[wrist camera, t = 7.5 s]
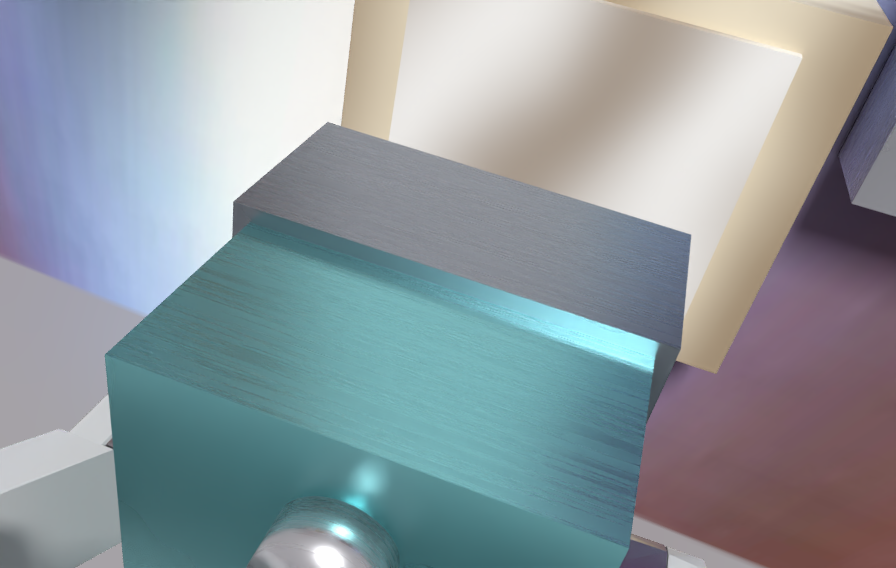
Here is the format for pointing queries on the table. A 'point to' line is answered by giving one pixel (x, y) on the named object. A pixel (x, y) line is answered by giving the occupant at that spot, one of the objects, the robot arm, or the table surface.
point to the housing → (397, 373)
